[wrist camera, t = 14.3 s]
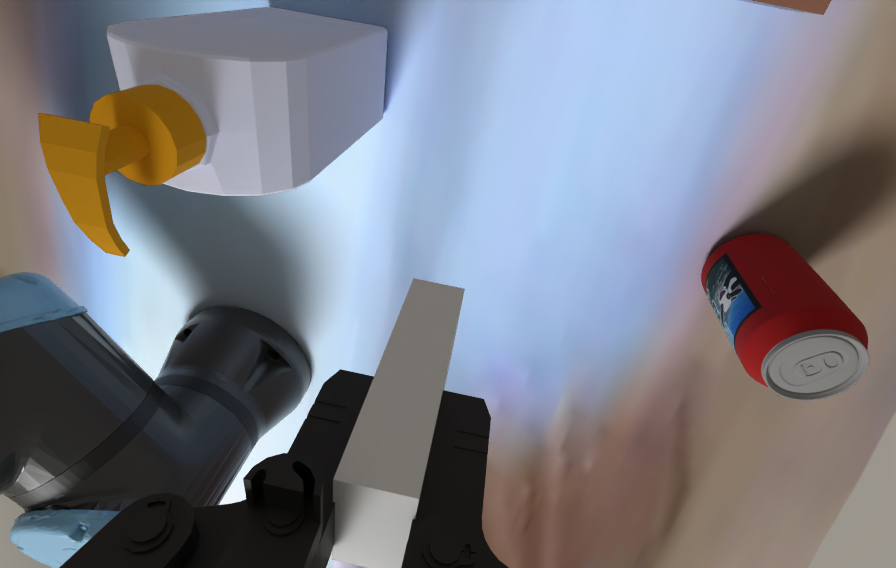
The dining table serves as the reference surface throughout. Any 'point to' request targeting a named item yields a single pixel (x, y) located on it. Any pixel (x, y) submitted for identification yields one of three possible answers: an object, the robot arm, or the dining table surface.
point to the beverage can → (784, 319)
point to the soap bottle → (219, 108)
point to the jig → (796, 5)
